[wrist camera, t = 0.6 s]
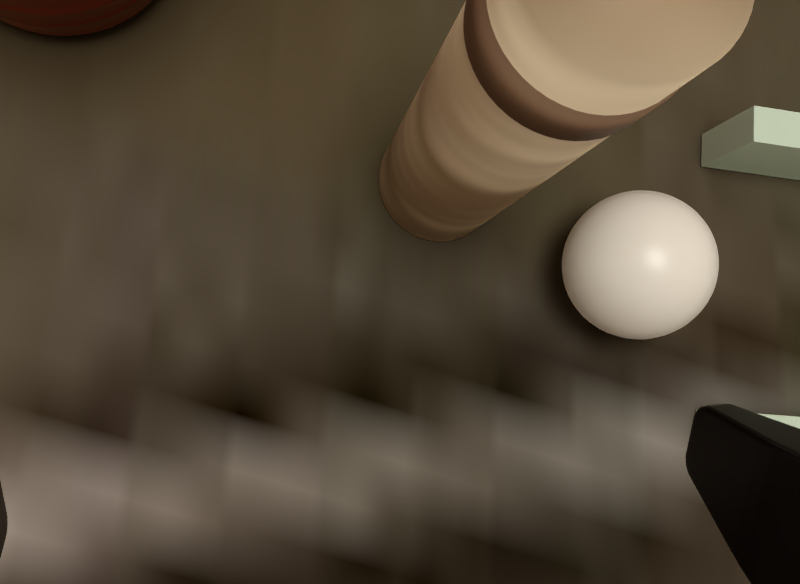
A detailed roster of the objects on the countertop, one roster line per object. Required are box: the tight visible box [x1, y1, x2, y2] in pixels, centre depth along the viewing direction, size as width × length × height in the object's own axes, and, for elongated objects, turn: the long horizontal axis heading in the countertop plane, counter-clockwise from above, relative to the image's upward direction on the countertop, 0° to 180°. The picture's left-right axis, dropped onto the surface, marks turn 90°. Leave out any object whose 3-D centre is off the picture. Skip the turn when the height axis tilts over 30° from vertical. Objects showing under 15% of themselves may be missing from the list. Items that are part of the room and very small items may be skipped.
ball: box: [562, 190, 719, 339], centre depth 22 cm, size 5×5×5 cm
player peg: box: [378, 0, 754, 242], centre depth 17 cm, size 4×4×13 cm
